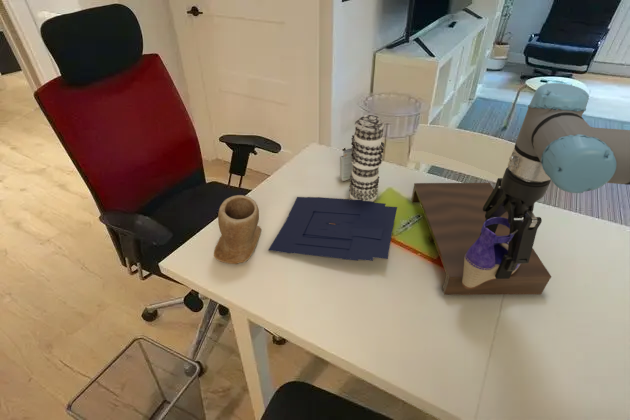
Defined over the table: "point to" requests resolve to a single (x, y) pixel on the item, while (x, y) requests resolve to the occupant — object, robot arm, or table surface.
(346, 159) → the ink box
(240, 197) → the stone cup
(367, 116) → the decorative candle
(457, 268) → the walnut wood board
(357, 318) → the table surface
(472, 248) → the sandal
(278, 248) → the papers
